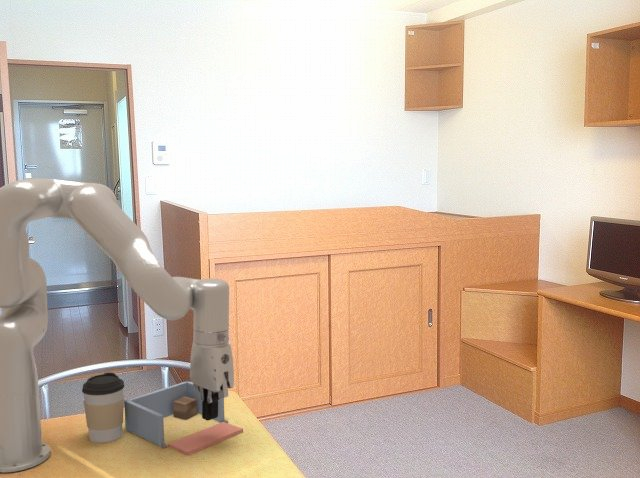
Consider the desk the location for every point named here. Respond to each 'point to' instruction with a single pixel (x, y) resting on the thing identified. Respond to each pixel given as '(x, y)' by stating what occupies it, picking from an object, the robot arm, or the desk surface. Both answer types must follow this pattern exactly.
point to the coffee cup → (104, 407)
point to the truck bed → (160, 410)
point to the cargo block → (185, 408)
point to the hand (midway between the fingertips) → (210, 417)
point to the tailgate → (205, 438)
